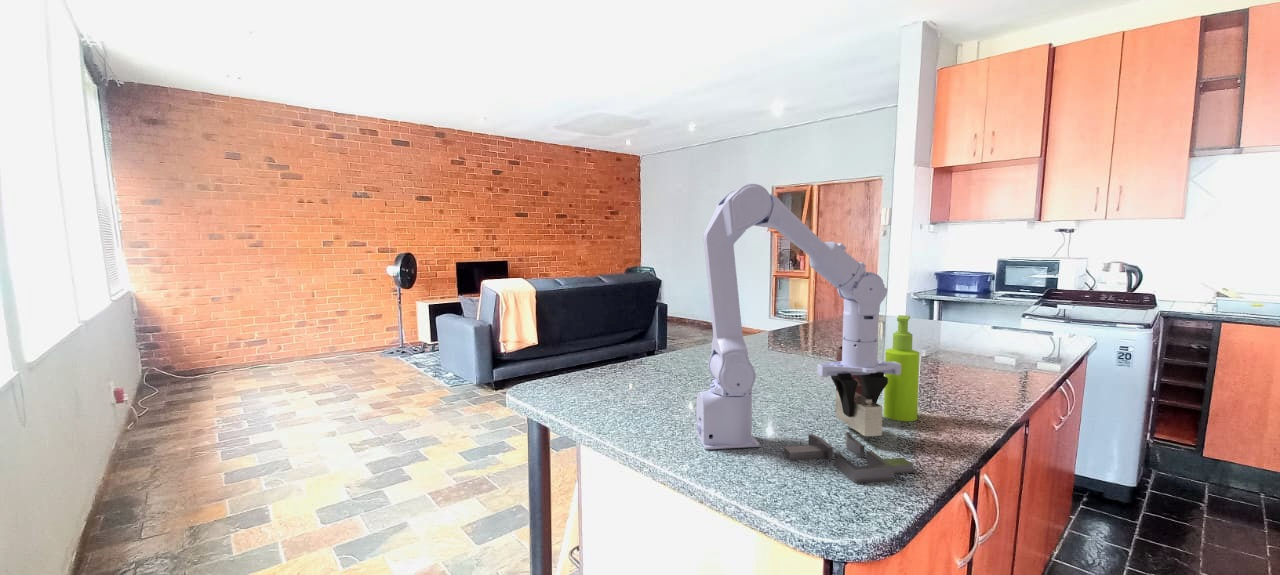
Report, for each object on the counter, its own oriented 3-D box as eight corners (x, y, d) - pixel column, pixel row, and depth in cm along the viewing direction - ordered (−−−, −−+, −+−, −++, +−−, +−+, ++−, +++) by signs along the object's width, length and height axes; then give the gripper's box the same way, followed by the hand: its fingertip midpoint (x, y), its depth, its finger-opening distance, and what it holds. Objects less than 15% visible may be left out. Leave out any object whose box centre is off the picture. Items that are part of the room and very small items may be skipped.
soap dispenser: (918, 413, 100) (921, 315, 99) (916, 423, 94) (919, 319, 93) (886, 408, 103) (888, 313, 102) (882, 418, 97) (884, 317, 96)
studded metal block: (865, 436, 83) (865, 402, 83) (835, 416, 93) (835, 386, 93) (881, 435, 84) (882, 401, 83) (850, 415, 93) (851, 385, 93)
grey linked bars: (813, 485, 70) (814, 471, 70) (777, 447, 84) (777, 435, 84) (922, 478, 72) (922, 465, 72) (869, 442, 86) (869, 430, 85)
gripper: (831, 344, 82) (829, 424, 84) (913, 342, 84) (910, 420, 85) (812, 337, 89) (811, 410, 91) (888, 335, 91) (886, 407, 92)
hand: (857, 414), depth 88 cm, fingers closed on studded metal block, 3 cm apart
